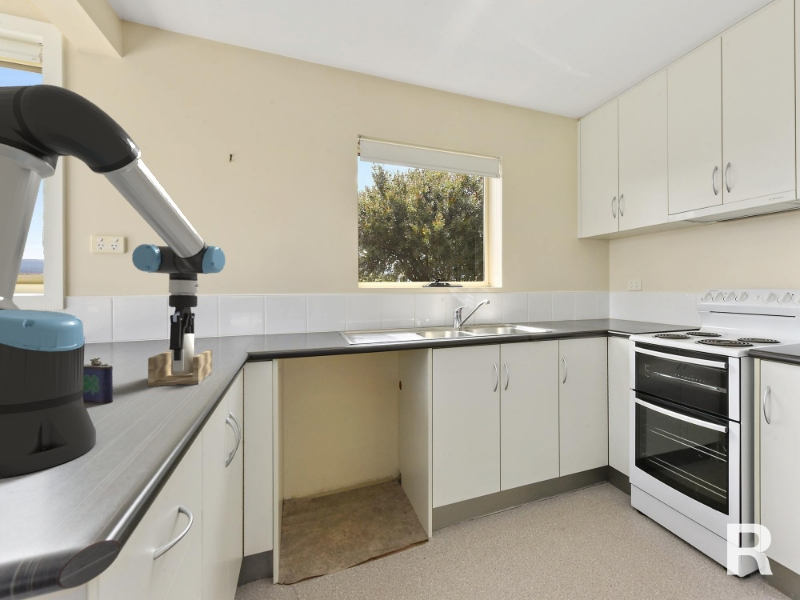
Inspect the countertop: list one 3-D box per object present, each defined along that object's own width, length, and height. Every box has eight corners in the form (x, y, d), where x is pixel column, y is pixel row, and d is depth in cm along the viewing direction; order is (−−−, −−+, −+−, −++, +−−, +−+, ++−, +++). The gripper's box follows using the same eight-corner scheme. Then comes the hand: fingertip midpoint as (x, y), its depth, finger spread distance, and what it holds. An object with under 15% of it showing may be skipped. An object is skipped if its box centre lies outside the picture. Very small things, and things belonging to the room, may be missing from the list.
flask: (72, 402, 83) (72, 358, 83) (84, 399, 86) (85, 356, 86) (106, 404, 82) (106, 359, 82) (117, 401, 85) (118, 357, 85)
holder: (198, 384, 102) (198, 357, 102) (147, 386, 99) (148, 358, 99) (212, 373, 116) (212, 349, 116) (168, 375, 113) (168, 350, 112)
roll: (189, 374, 105) (190, 334, 105) (167, 375, 104) (168, 335, 104) (196, 370, 111) (197, 332, 111) (175, 371, 109) (176, 332, 109)
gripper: (185, 294, 99) (184, 375, 99) (206, 294, 117) (205, 362, 117) (155, 294, 97) (154, 376, 97) (181, 294, 115) (180, 363, 116)
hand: (182, 368), depth 107 cm, fingers closed on roll, 6 cm apart
